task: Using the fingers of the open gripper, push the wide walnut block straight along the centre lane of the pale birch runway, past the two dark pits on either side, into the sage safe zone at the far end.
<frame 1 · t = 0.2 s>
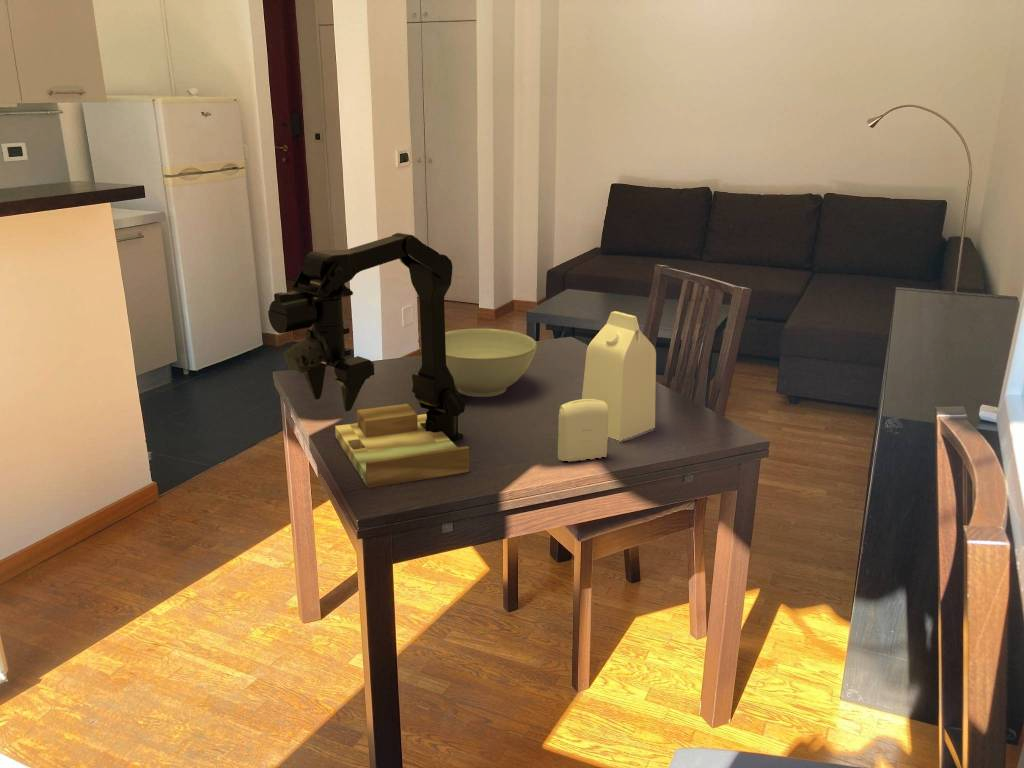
hand: (332, 404, 159), 14 cm above the table, tool pointing down, fingers open, 9 cm apart
photo printer: (581, 458, 174), on the table
walnut block: (387, 427, 181), point 2 cm above the table, touching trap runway
milk: (616, 429, 190), on the table
decorative bowl: (481, 389, 214), on the table
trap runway: (398, 452, 175), on the table
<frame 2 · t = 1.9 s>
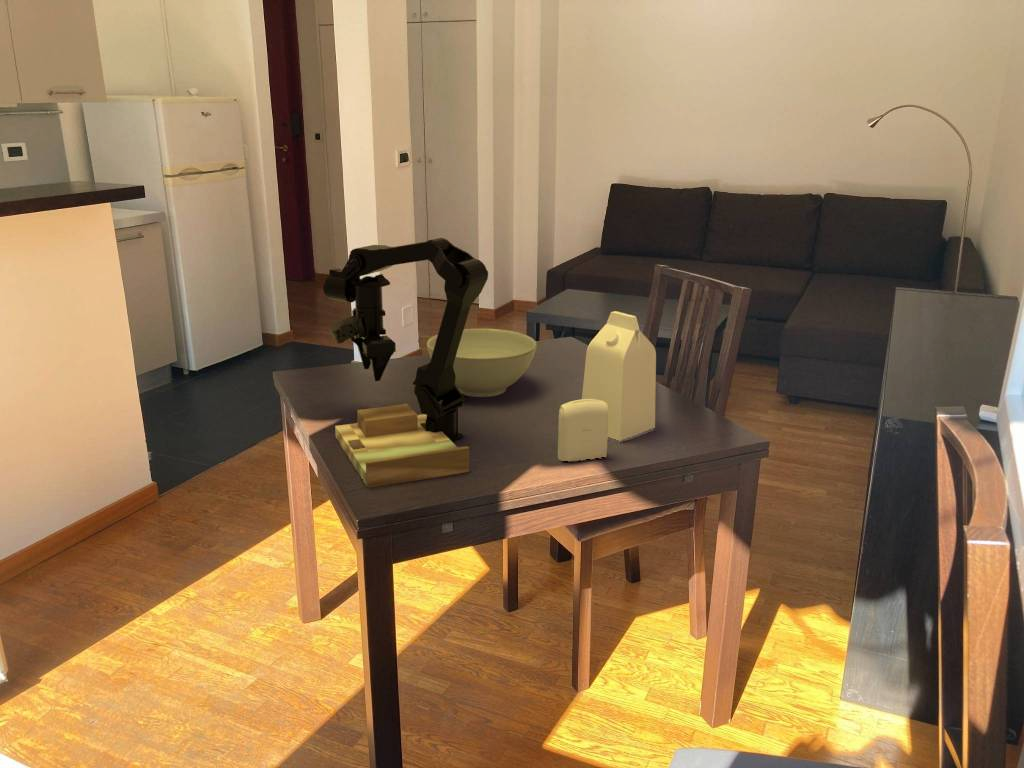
hand: (371, 374, 189), 11 cm above the table, tool pointing down, fingers open, 9 cm apart
nothing on the table moved.
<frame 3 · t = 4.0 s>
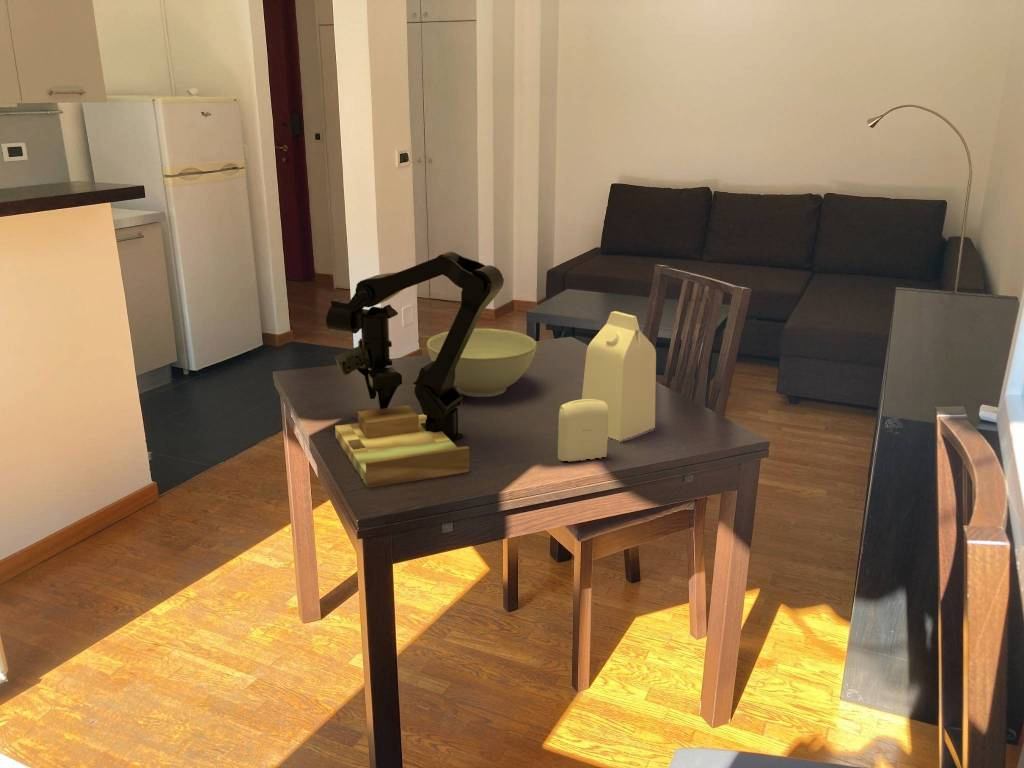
hand: (377, 405, 187), 5 cm above the table, tool pointing down, fingers open, 8 cm apart
walnut block: (388, 429, 180), point 3 cm above the table, touching gripper
everything else where it was.
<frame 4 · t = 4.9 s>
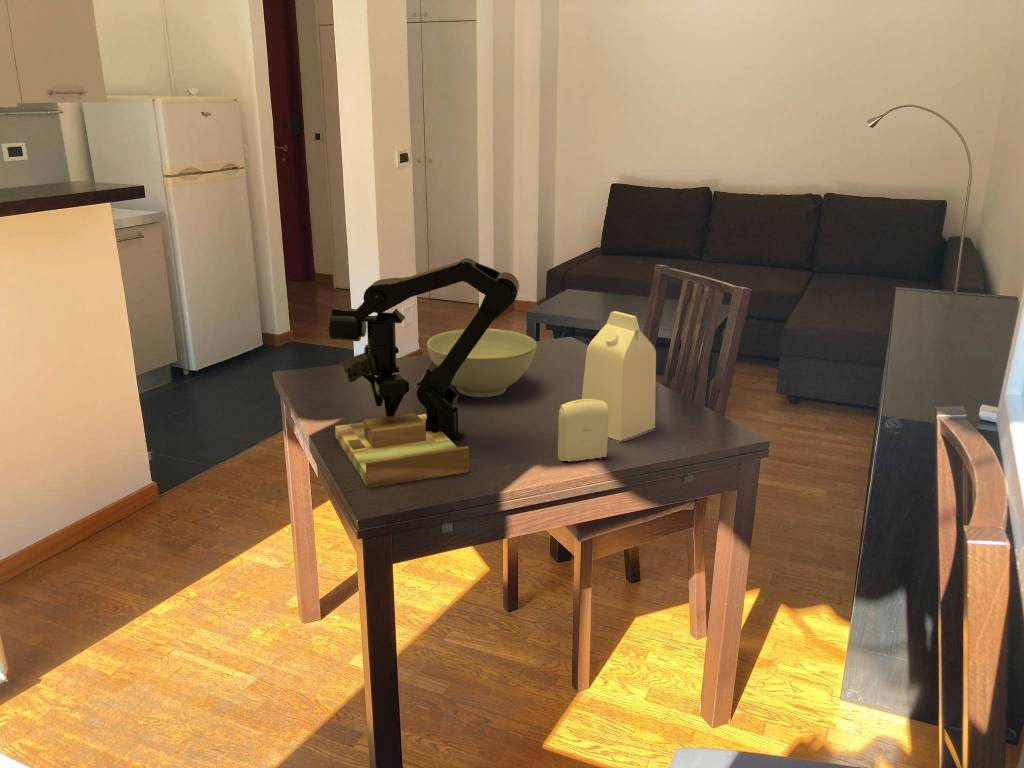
hand: (384, 412, 182), 5 cm above the table, tool pointing down, fingers open, 9 cm apart
walnut block: (394, 438, 176), point 3 cm above the table, touching gripper, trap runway
everything else where it was.
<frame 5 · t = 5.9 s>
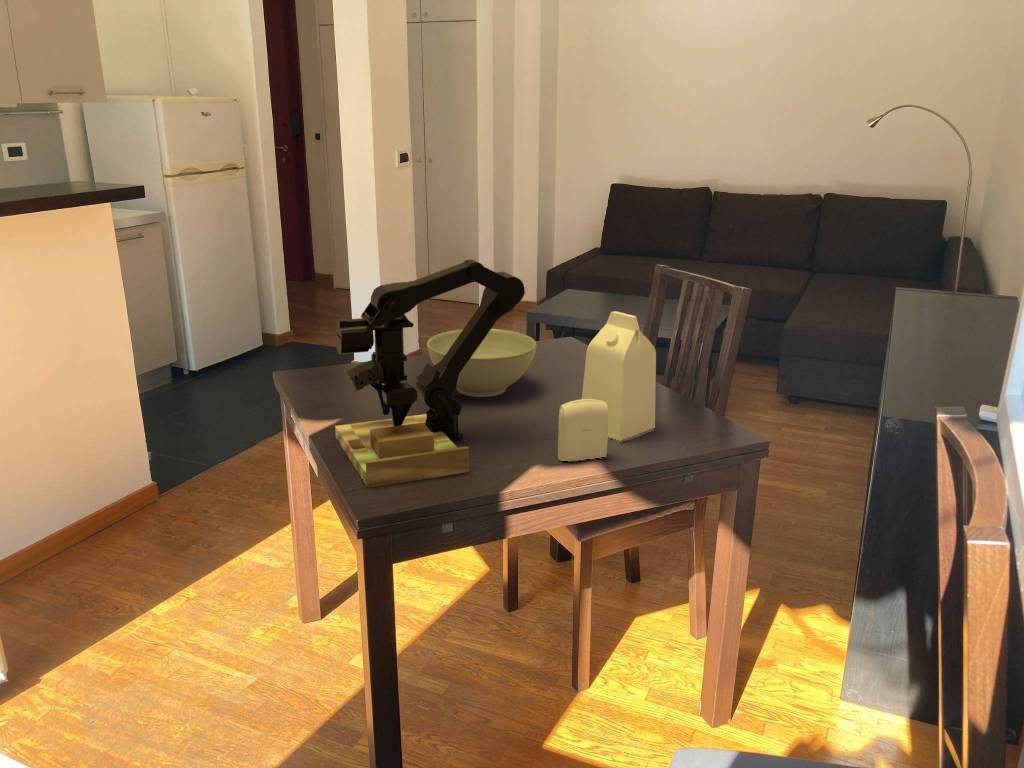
hand: (391, 421, 177), 5 cm above the table, tool pointing down, fingers open, 8 cm apart
walnut block: (402, 448, 171), point 3 cm above the table, touching gripper, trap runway
everything else where it was.
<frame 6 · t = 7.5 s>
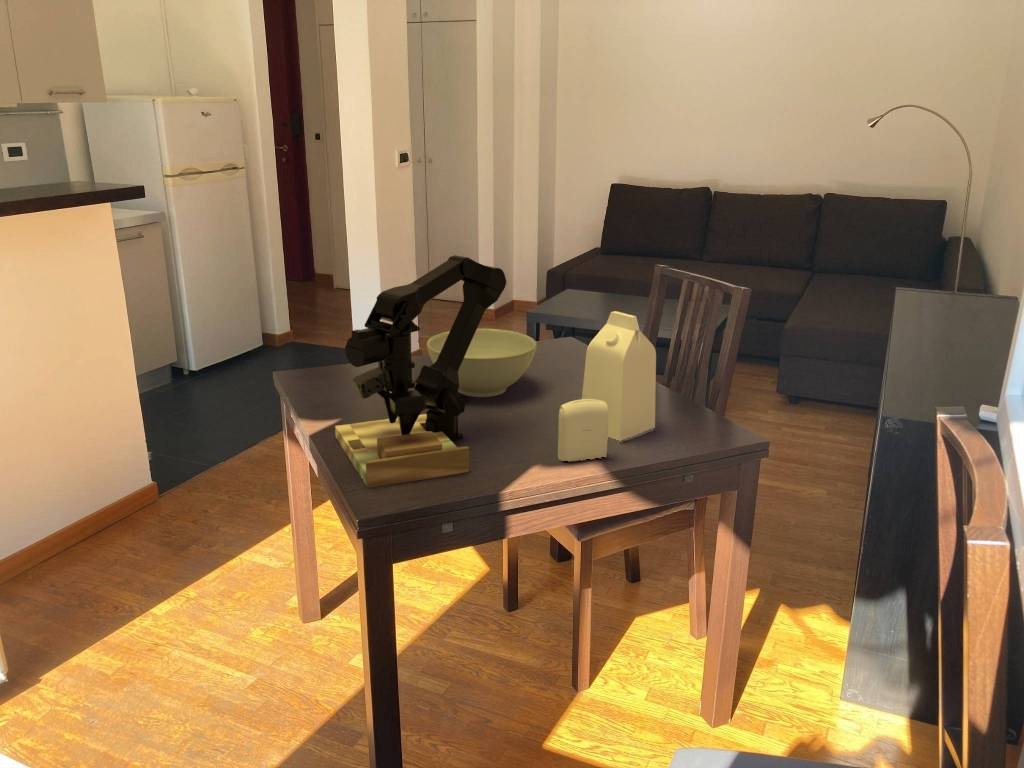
hand: (398, 430, 173), 5 cm above the table, tool pointing down, fingers open, 8 cm apart
walnut block: (409, 458, 166), point 2 cm above the table, touching gripper, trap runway
everything else where it was.
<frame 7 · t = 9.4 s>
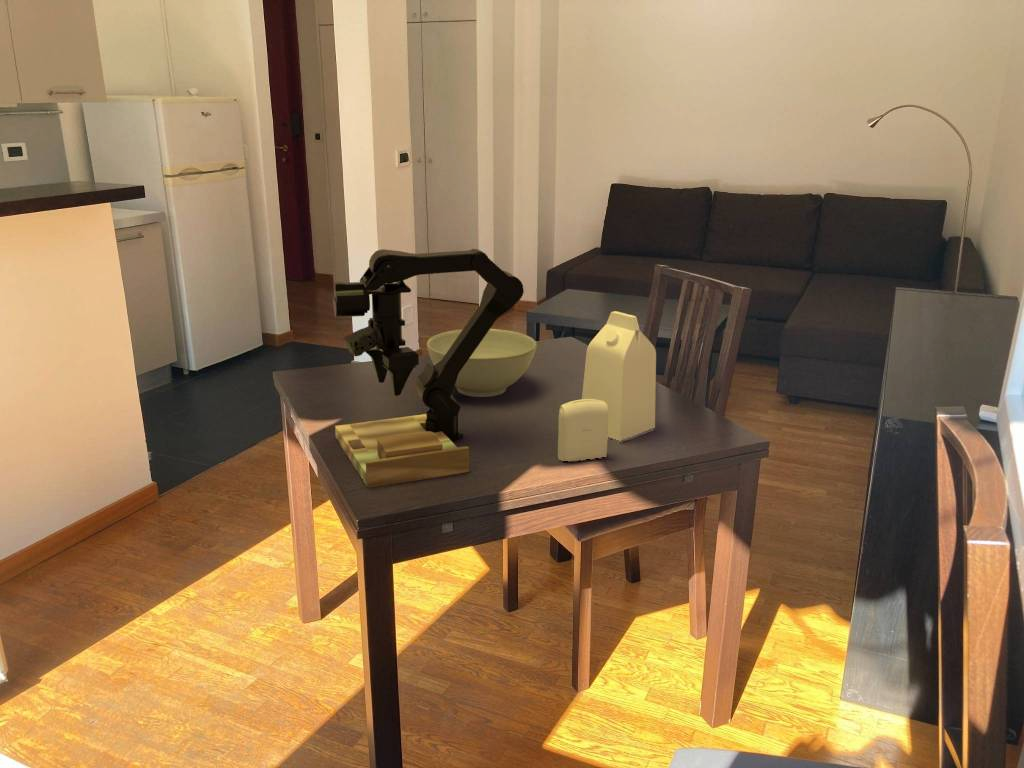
hand: (389, 388, 176), 12 cm above the table, tool pointing down, fingers open, 9 cm apart
walnut block: (409, 458, 166), point 2 cm above the table, touching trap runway
everything else where it was.
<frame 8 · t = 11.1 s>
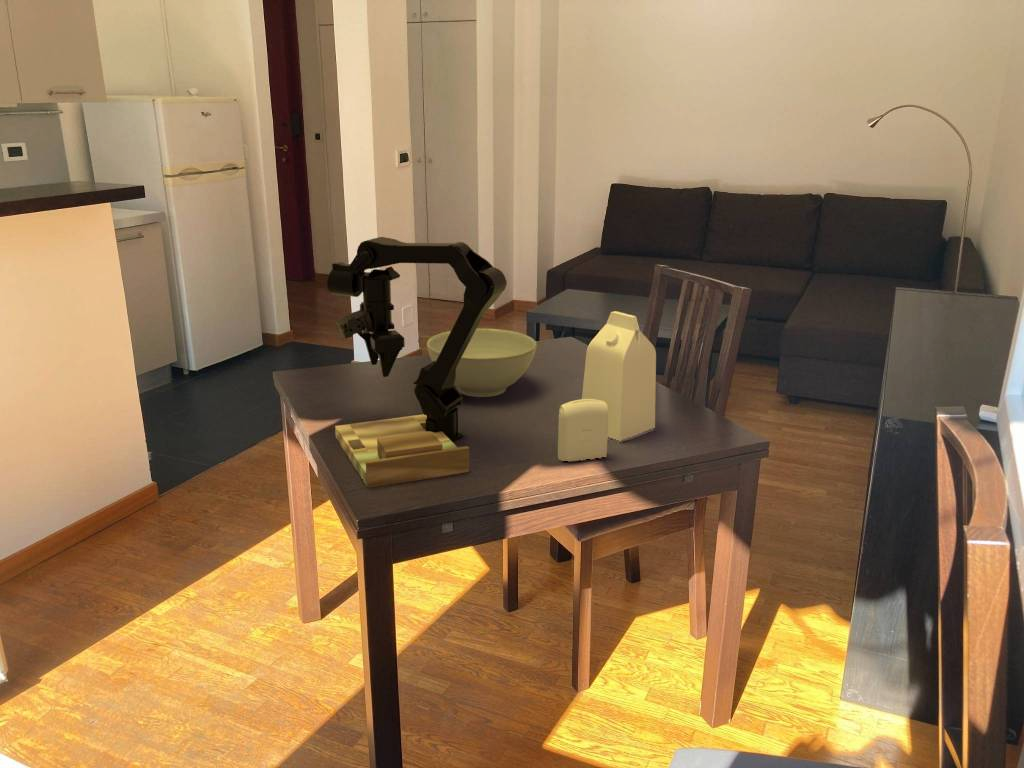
hand: (379, 370, 184), 13 cm above the table, tool pointing down, fingers open, 9 cm apart
nothing on the table moved.
at the end: walnut block inside the target area (1.1 cm from its centre), point 2.5 cm above the table; walnut block tilted 0°; walnut block moved 17.1 cm from its start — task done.
